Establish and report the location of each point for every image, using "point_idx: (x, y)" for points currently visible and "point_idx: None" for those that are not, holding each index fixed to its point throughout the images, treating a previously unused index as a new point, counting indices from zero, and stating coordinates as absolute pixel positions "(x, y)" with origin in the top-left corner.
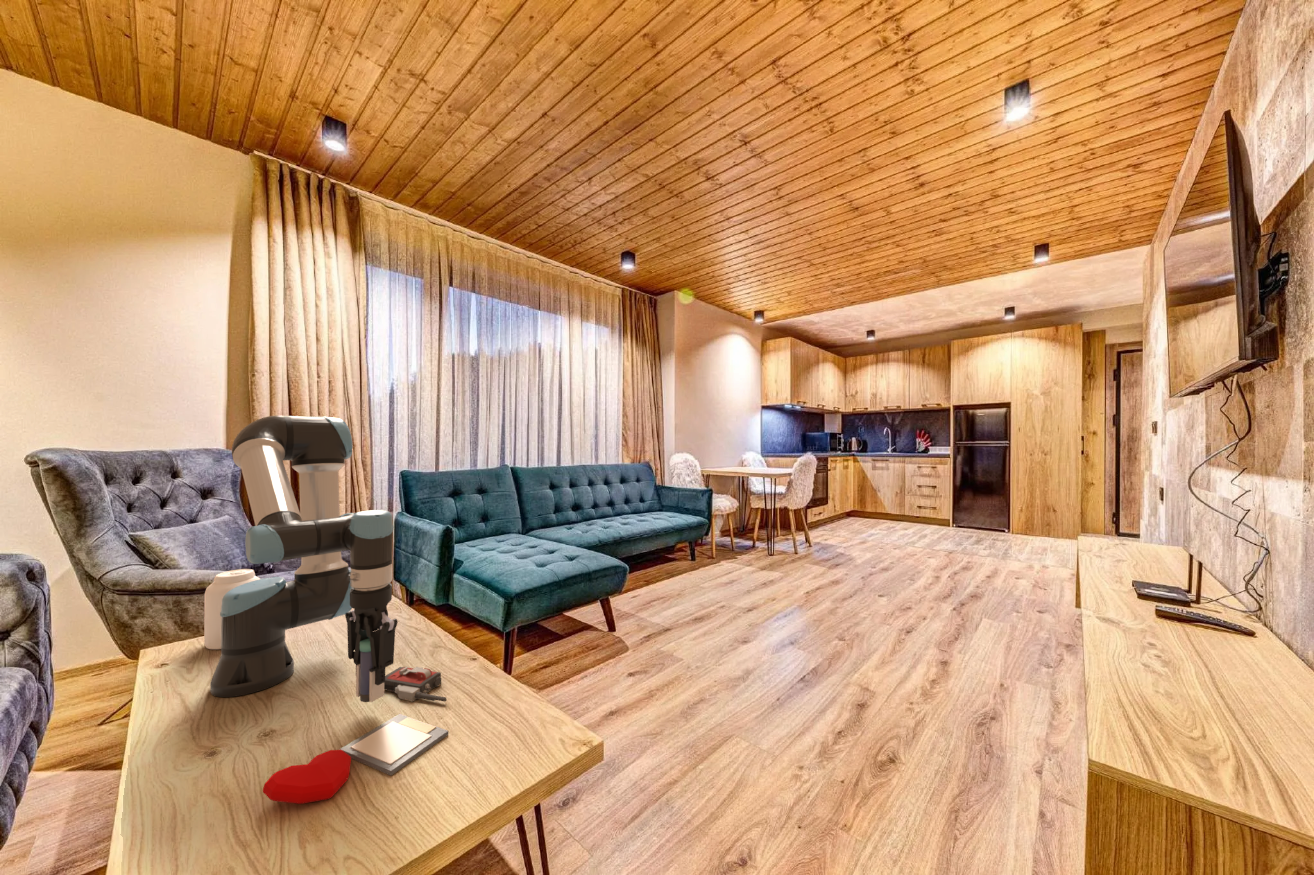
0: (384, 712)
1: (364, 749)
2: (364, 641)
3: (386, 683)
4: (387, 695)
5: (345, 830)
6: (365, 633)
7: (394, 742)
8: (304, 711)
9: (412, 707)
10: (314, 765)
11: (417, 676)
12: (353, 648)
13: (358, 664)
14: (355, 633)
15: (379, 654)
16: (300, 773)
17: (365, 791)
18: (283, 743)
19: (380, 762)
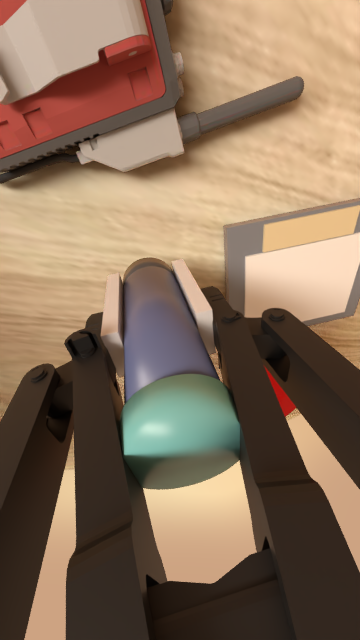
0: (166, 236)
1: None
2: (169, 478)
3: (14, 165)
4: (70, 183)
5: (356, 365)
6: (145, 531)
7: (309, 286)
8: (6, 344)
9: (209, 174)
10: (286, 398)
11: (109, 64)
12: (64, 438)
13: (117, 371)
14: (27, 539)
15: (295, 402)
16: (283, 409)
17: (334, 339)
18: (117, 381)
19: (323, 317)
